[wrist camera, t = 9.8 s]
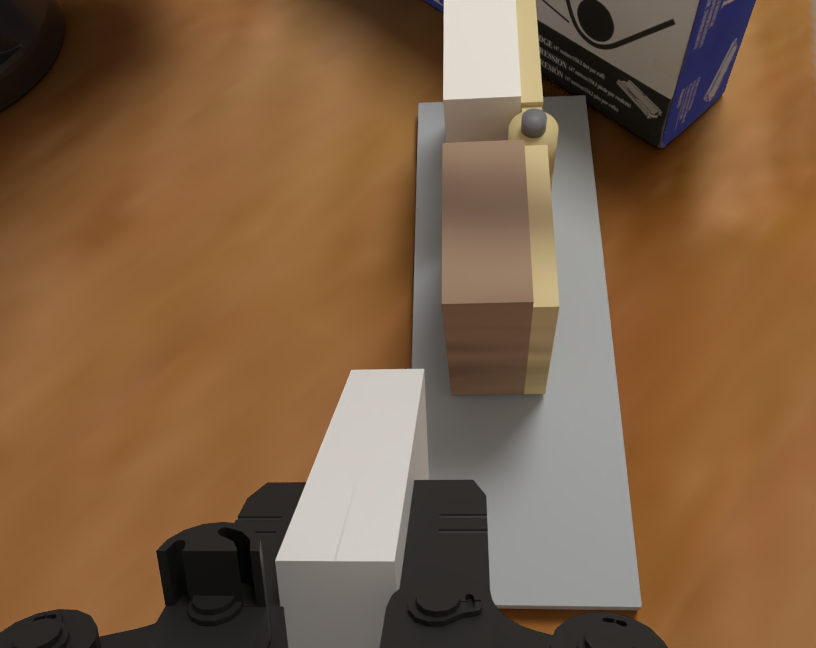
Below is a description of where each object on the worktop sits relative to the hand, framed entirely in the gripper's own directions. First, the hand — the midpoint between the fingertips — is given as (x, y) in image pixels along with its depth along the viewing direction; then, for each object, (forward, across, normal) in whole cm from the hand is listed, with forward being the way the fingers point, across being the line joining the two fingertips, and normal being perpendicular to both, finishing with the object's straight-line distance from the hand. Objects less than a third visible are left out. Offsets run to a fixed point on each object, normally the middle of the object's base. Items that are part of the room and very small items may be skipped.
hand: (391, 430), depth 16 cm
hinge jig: (+25, +4, -5) cm, 25 cm away
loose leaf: (+24, +3, -4) cm, 24 cm away
